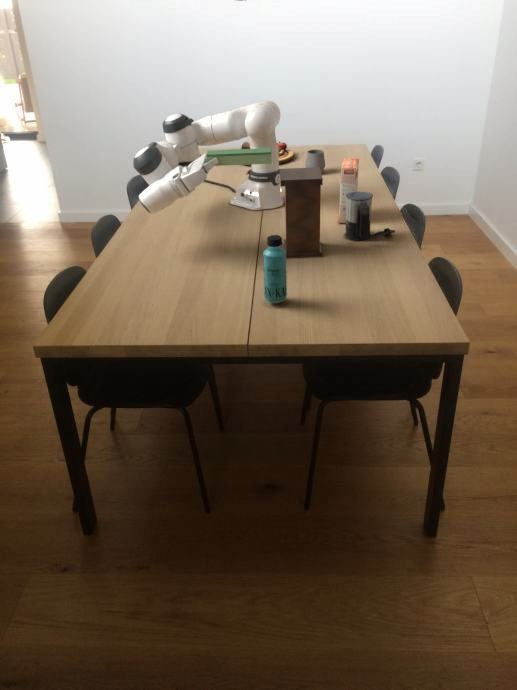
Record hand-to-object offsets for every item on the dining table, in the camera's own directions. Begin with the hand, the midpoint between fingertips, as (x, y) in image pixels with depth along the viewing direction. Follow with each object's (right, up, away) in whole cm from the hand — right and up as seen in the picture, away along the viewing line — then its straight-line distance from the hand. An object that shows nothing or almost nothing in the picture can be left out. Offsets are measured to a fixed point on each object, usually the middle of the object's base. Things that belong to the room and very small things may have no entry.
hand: (218, 156), depth 180 cm
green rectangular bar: (+7, -2, +1) cm, 7 cm away
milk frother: (+52, -21, +24) cm, 61 cm away
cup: (+39, +23, +93) cm, 104 cm away
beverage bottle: (+18, -47, -15) cm, 52 cm away
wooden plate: (+15, +38, +120) cm, 126 cm away
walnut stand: (+27, -26, +16) cm, 41 cm away
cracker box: (+47, -10, +41) cm, 63 cm away
